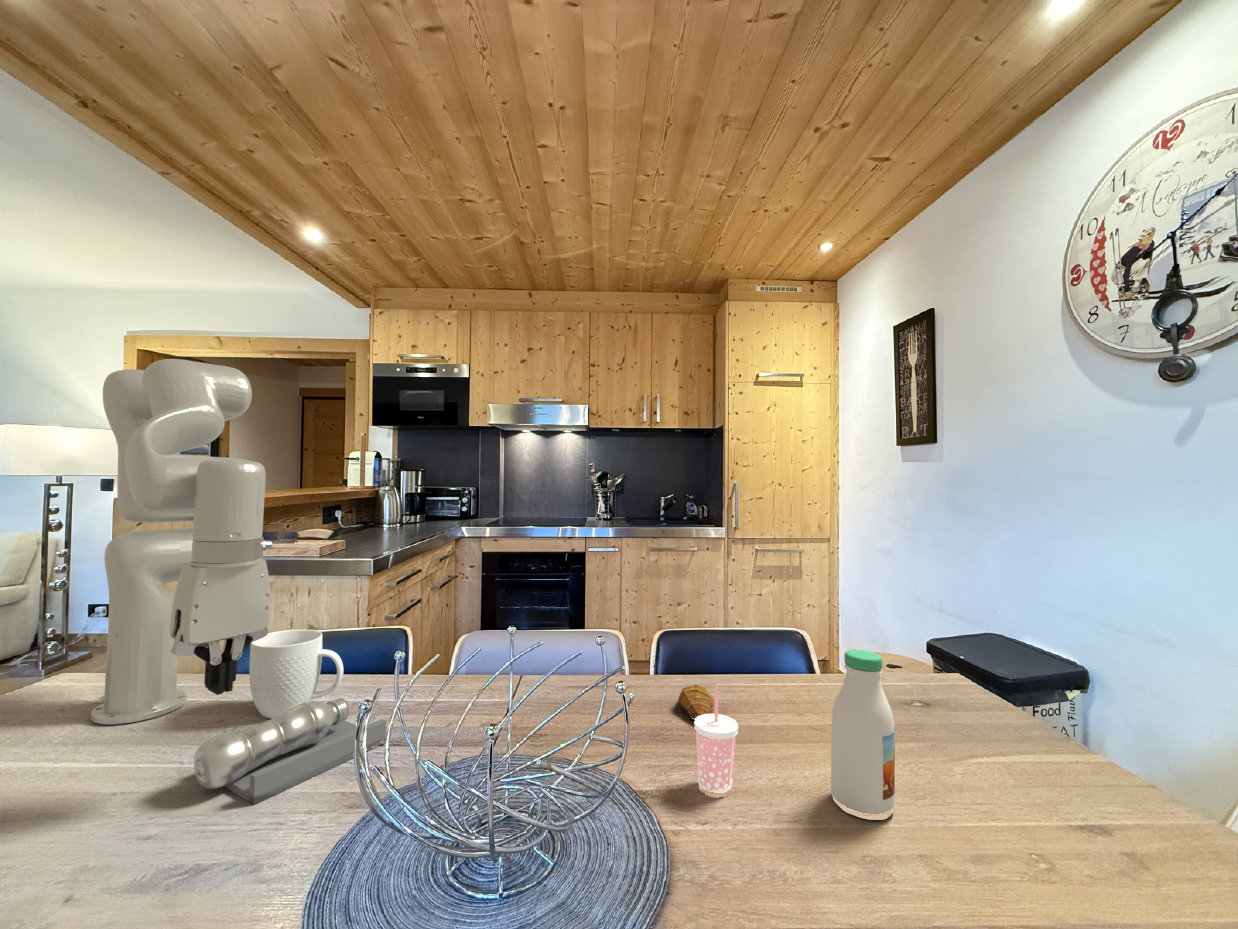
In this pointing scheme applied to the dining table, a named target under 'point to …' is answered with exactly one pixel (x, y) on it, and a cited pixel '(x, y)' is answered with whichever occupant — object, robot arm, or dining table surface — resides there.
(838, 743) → the milk bottle
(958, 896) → the dining table surface
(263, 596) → the robot arm
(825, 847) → the dining table surface
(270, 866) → the dining table surface
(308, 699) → the mug
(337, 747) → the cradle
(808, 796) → the dining table surface
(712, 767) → the beverage cup
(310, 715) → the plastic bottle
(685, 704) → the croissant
